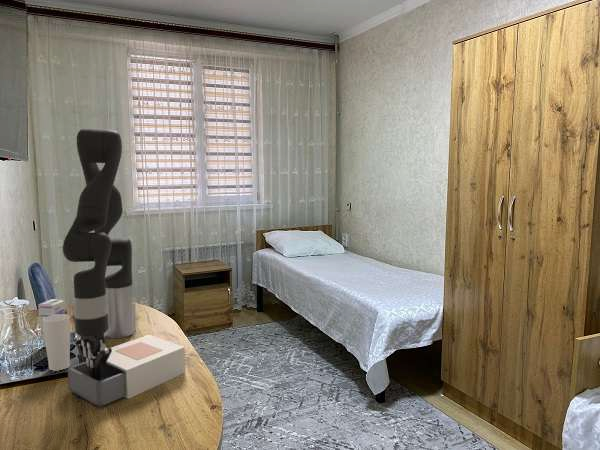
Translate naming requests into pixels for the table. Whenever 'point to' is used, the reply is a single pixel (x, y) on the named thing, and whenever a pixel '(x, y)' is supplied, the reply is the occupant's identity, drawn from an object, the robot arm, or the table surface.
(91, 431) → the table surface
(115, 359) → the mailer sleeve
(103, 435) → the table surface
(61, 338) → the white cup
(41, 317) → the syrup box
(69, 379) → the tray
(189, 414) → the table surface
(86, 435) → the table surface
